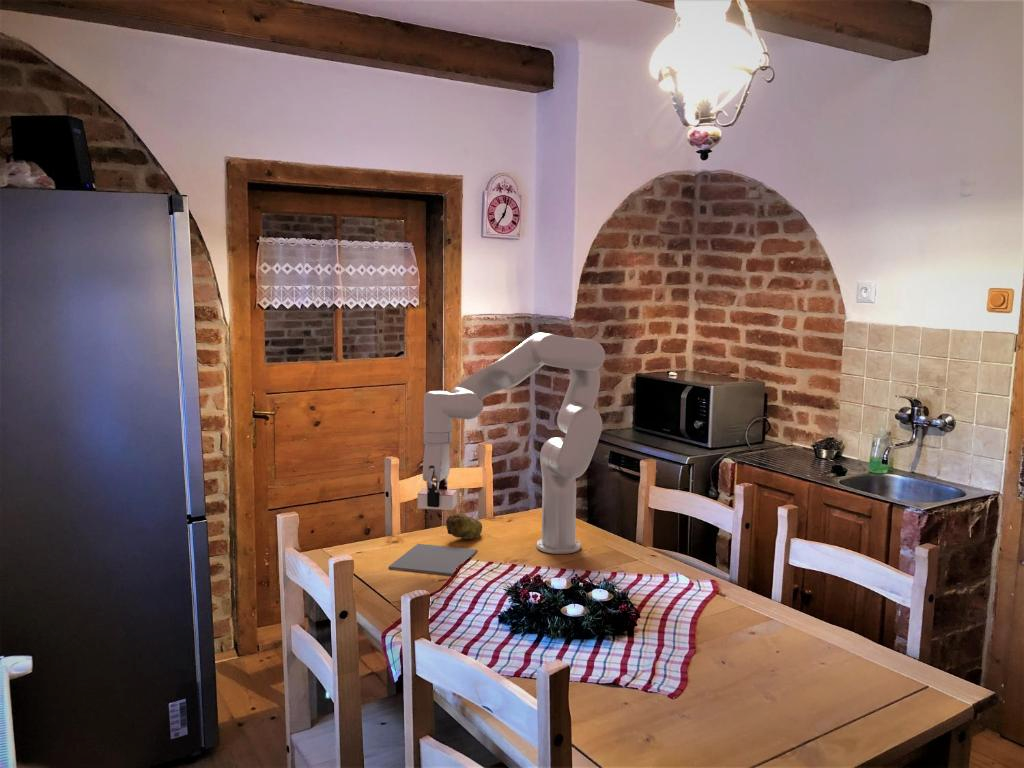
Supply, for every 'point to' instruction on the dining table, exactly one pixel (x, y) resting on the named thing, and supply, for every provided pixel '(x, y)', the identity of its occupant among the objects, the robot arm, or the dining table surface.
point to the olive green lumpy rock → (463, 526)
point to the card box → (445, 499)
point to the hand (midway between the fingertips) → (437, 502)
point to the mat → (433, 559)
